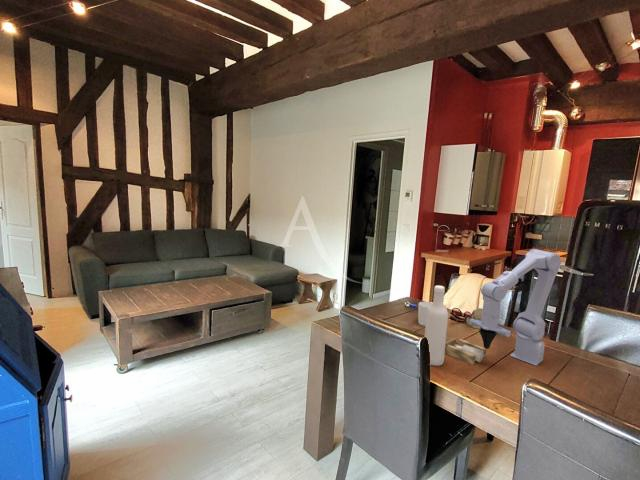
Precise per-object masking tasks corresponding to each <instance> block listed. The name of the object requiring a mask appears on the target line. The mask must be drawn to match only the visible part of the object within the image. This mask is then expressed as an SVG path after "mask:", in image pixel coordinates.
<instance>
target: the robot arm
mask: <svg viewBox="0 0 640 480" xmlns="http://www.w3.org/2000/svg"><path fill="white" fill-rule="evenodd" d="M562 261H563V260H562V259H561V257H560V255H559V253H557V252H550V251H545V250H541V249H537V248H532V249H529V251H528V252H527V253H526V254H525V257H524V259H523V260H522V261H520V262H519V263H518V264H517V265H516V266H515V267H514V268H513V269H512V270H511V271H510V270H504V271H503V272H502V274H500V275H499V276H497V277H496V278H495V279H494V280H493V281H488V282H486V283H484V284H483V285H482V287H481V289H480V293H481V294H482V300H483V301H482V302H483V305H482V309H483V311H482V320H481V321H480V320H475V319H470V321H469V324H470V325H475V326H478V327H481V329H478V331H479V334H480V337H481V339H482V344H483V348H486V350H488V349H490V347H491V345H492V342H493V340H494V339H495V337H496V336H497V335H498V334H499V335H502V336H504V337H507V338H510V337H511V333H512V332H511V331H512V330H509V329H506V328H504V327H502V326H500V325H499V319H500V312H501V303H502V301H503V299H505V297H506V295H507V293H508V291H509V290H510V289H511V288H513V287H515V286H516V285H517V284H518V283H519V278H521V277H522V276H524V275H525V274H527V273H528V272H530V271H532V270H533V269H534V270H535V271H536V273H537V274H538V275H537V278H536V281H535V284H534V286H533V289H532V291H531V295H530V298H529V299H528V303H527V305H526V308H525V310H524V311H523V312H519V313H518V315H517V316H516V318H515V320H513V323H512V328H513V330H514V331H515V334H516V340H515V346H514V352H512V353H511V354H510V357H511V358H515V359H517V360H519V361H523V362H525V363H528V364H531V365H533V366H535V367H536V366H538V365H539V364H541V363H542V361H543V360H544V354H545V353H544V352H545V346H546V345H545V342H544V341H542V340H541V339H543V337H544V336H545V328H546V322H545V320H544V318H543V317H542V314H543V311H544V309H545V306H546V304H547V301H548V298H549V294H550V292H551V289H552V287H553V284H554V281H555V278H556V276H558V272H559V269H560V267H561V264H562Z"/></svg>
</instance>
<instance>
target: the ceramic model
mask: <svg viewBox="0 0 640 480" xmlns="http://www.w3.org/2000/svg"><path fill="white" fill-rule="evenodd" d="M482 311H483V308H482V307H481V308H480V307H479V308H478V307H476V309H473V310H472V312H471V317H469V316H467V318H466V325H467V326H468V327H470V328H474V329H477V330H480V329H481V327H478V326H475V325H470V324H469V321H470V319H475V320H480V321H481V320H482Z"/></svg>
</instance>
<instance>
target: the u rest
mask: <svg viewBox="0 0 640 480" xmlns="http://www.w3.org/2000/svg"><path fill="white" fill-rule="evenodd" d="M455 344H457V345H459V346H461V347H463V345H468V346H470V347H473V348H476V349H479V350H482V351H483V352H484V356H483V359H484V358H485V357H486V353H487V349H486V348H484V346H480V345H479V344H476V343H472V342H469V341H467V340H464V339H462V338H459V339H458V340H457V338H456V337H451V338H449V339H446V343H445V355H449V356H451V357H454V358H456V359H459V360H460V361H463V362H465V363H467V364H470V365H472V366H473V365H475V363H476V361H475V355H473V354H471V353H468V352H466V351H464V350H461V349H459V348H456V347H454V345H455Z"/></svg>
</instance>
